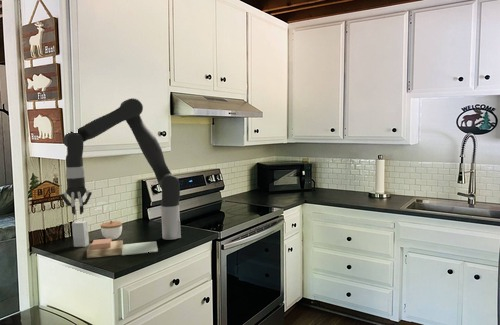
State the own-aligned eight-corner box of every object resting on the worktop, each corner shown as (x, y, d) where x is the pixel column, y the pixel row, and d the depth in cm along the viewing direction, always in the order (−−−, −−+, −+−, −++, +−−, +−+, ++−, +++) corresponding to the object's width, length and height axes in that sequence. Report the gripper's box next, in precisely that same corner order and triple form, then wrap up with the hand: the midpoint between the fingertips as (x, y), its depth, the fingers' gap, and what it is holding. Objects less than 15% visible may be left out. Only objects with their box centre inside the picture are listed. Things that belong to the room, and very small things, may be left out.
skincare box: (89, 244, 198) (88, 220, 197) (85, 247, 193) (83, 223, 192) (77, 244, 198) (76, 220, 197) (73, 247, 194) (71, 223, 192)
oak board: (123, 246, 193) (122, 240, 193) (122, 254, 181) (121, 248, 181) (90, 249, 189) (89, 243, 189) (86, 258, 177) (86, 251, 177)
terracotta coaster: (111, 242, 189) (111, 238, 189) (110, 247, 182) (110, 242, 182) (93, 244, 187) (93, 239, 187) (91, 249, 180) (91, 244, 179)
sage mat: (156, 242, 199) (156, 241, 199) (157, 251, 184) (157, 250, 184) (123, 245, 195) (123, 244, 195) (121, 255, 180) (121, 254, 179)
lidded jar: (124, 234, 214) (123, 217, 213) (121, 240, 204) (120, 222, 203) (103, 236, 213) (102, 219, 212) (99, 241, 202) (98, 223, 201)
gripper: (92, 174, 184) (94, 211, 186) (60, 176, 180) (62, 213, 182) (90, 176, 177) (93, 214, 179) (57, 178, 173) (59, 217, 175)
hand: (77, 214), depth 180 cm, fingers closed
